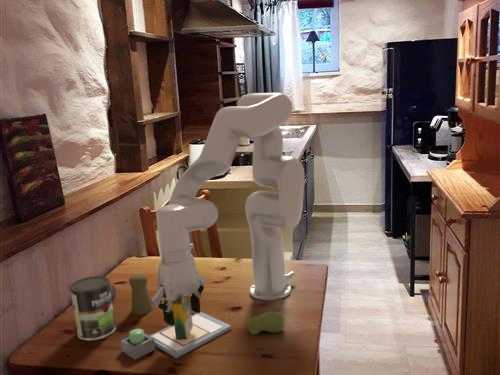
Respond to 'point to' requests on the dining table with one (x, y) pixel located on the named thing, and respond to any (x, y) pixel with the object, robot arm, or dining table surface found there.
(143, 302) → the cork
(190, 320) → the crayon box
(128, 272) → the dining table surface
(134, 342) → the button
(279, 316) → the pear
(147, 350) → the button housing
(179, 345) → the grey white rectangular board
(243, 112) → the robot arm
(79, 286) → the coffee can
